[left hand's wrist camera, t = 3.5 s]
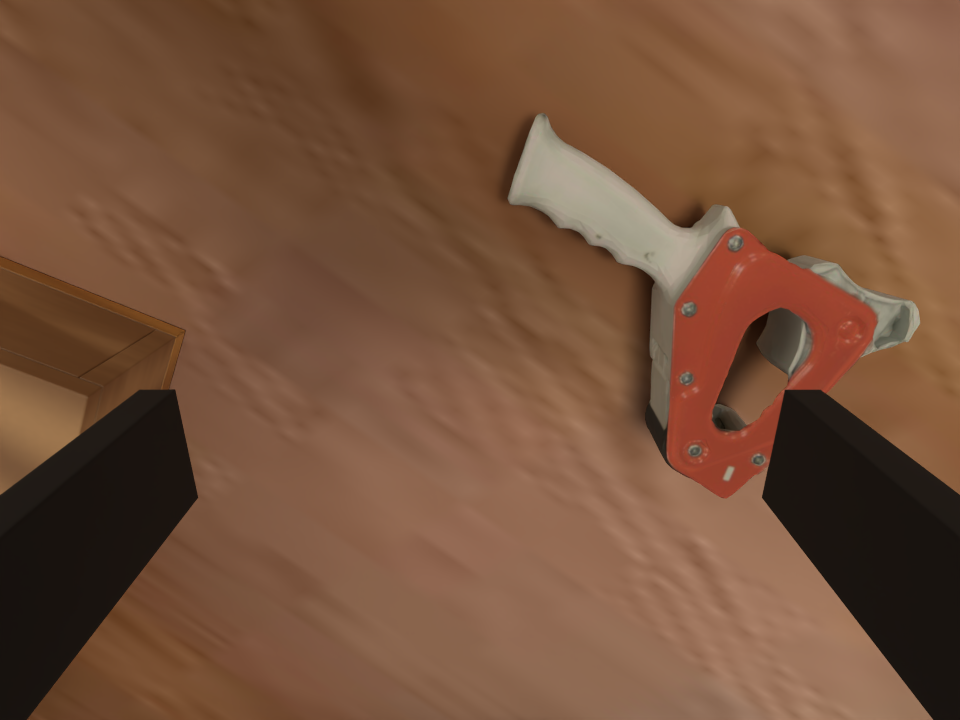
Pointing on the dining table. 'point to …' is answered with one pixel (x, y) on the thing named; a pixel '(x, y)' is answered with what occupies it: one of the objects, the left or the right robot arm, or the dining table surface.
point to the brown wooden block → (68, 364)
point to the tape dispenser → (712, 308)
